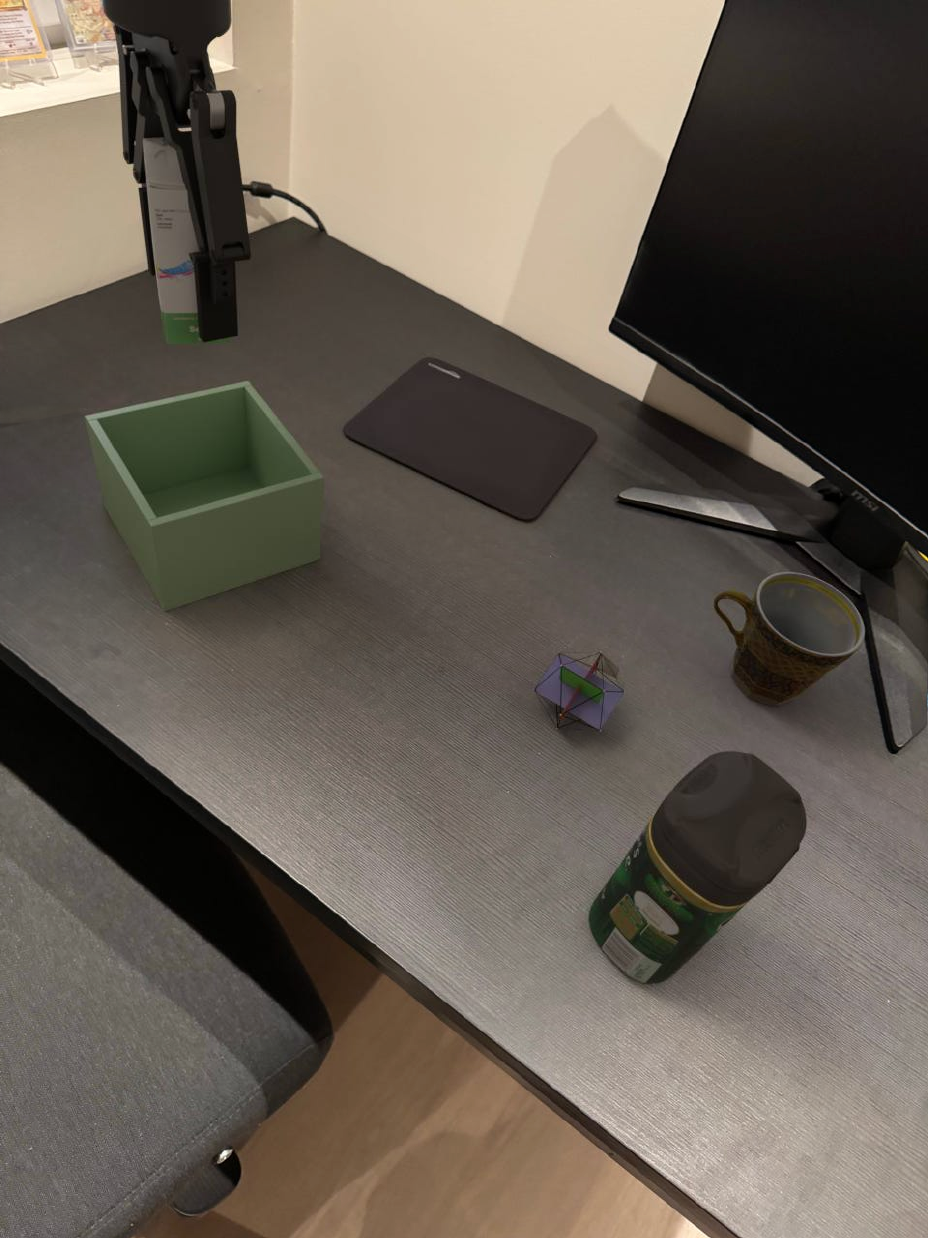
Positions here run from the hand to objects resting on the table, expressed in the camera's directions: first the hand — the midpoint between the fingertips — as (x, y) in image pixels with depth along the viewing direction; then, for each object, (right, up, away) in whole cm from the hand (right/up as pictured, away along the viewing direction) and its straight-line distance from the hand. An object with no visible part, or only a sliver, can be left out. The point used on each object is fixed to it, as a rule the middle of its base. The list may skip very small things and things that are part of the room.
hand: (191, 302), depth 66 cm
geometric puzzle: (+31, -33, +10) cm, 46 cm away
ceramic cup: (+49, -30, +17) cm, 60 cm away
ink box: (0, -1, +1) cm, 1 cm away
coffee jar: (+35, -48, -1) cm, 59 cm away
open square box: (-4, -16, +17) cm, 24 cm away
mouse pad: (+22, -3, +35) cm, 41 cm away
